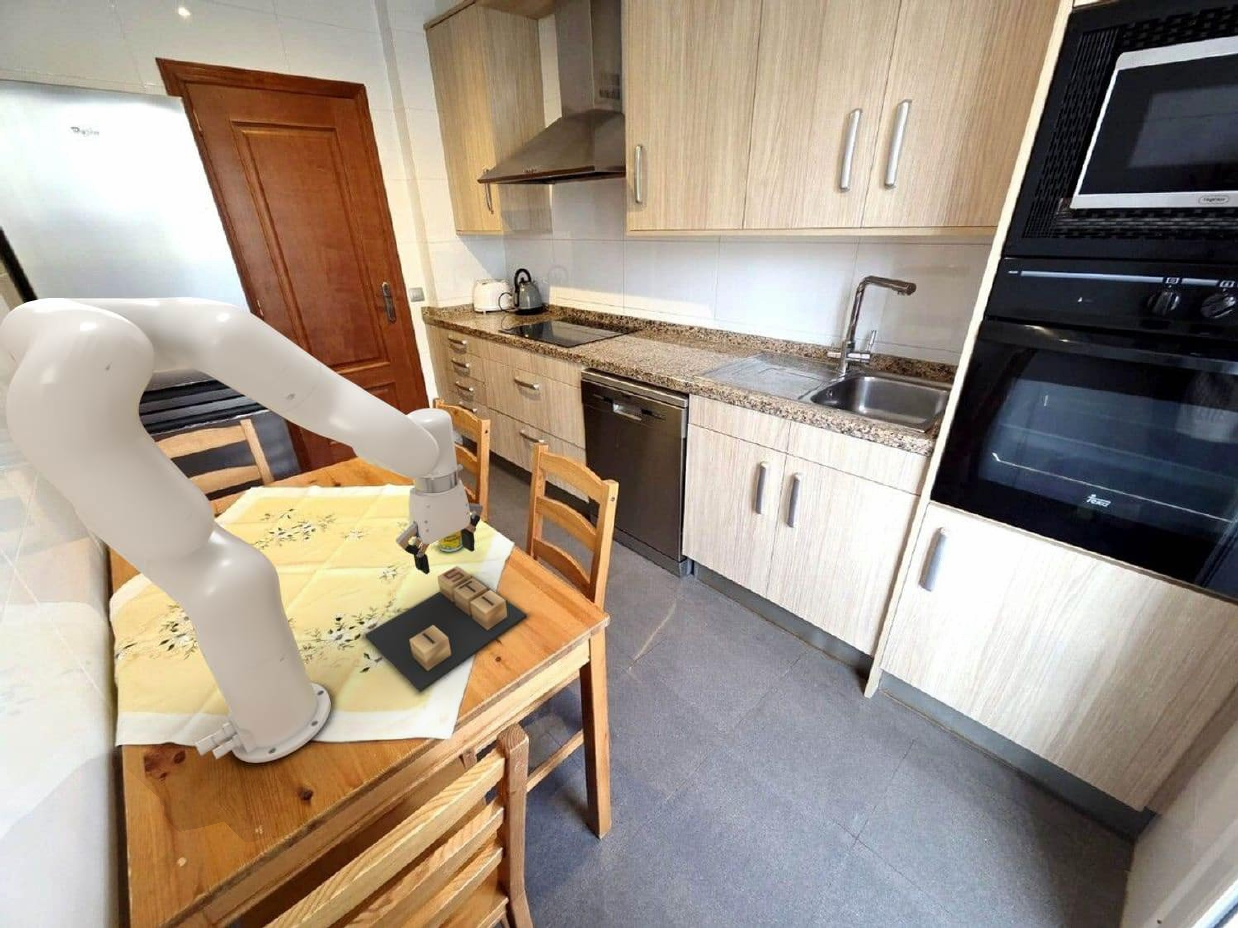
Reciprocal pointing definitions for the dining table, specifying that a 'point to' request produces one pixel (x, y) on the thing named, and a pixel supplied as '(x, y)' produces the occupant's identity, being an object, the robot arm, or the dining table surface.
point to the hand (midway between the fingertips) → (446, 559)
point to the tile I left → (430, 647)
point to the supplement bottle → (451, 542)
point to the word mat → (450, 621)
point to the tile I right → (488, 609)
